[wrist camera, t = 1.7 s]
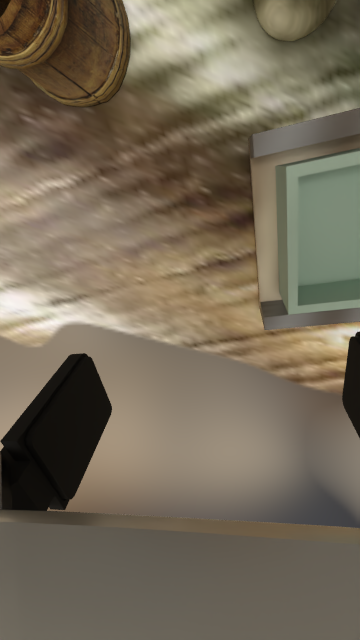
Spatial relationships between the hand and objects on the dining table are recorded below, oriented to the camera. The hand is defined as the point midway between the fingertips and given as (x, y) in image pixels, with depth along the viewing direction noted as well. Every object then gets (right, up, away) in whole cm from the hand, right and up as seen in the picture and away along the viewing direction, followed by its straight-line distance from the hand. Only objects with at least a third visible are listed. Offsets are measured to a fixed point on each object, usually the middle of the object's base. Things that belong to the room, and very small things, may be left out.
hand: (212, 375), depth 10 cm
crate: (+13, +11, +15) cm, 23 cm away
